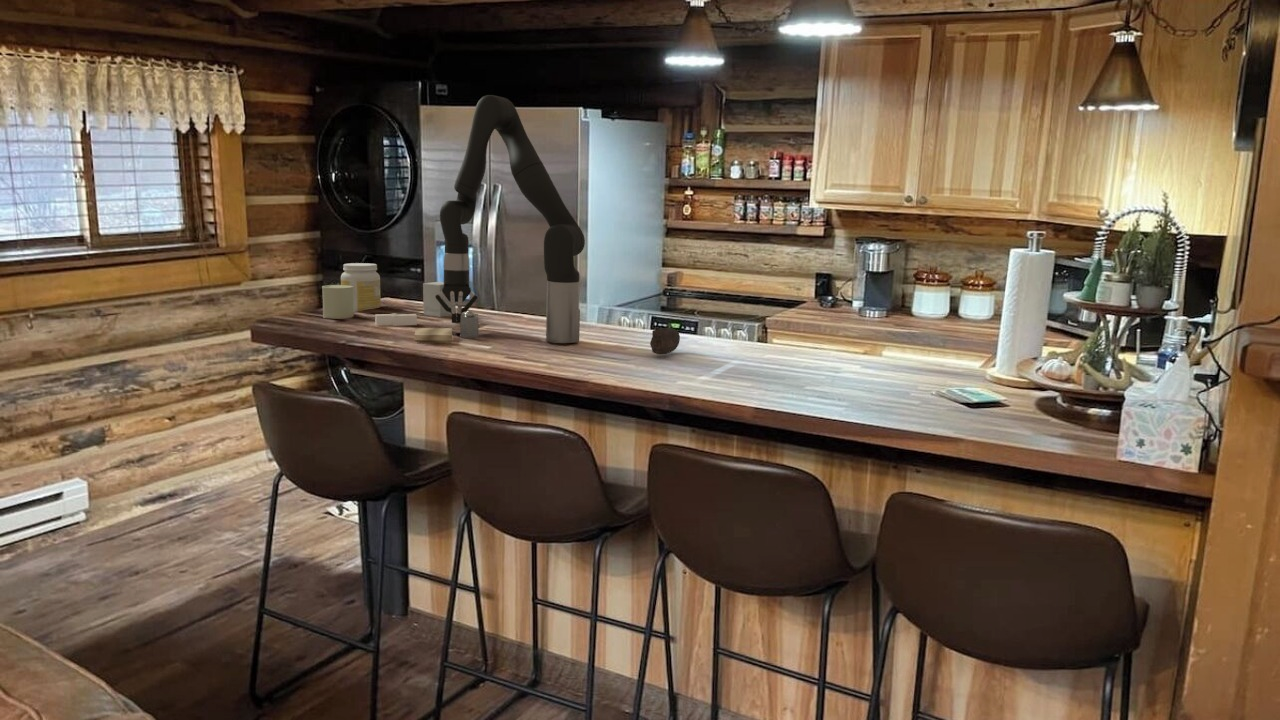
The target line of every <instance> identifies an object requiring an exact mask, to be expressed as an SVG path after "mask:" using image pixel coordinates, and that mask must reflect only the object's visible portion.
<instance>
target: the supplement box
mask: <svg viewBox="0 0 1280 720" xmlns="http://www.w3.org/2000/svg"><path fill="white" fill-rule="evenodd" d="M443 286H444V281H434V282H425V283H422V291H423V292H422V294H423V295H422V296H423V299H422V302H423V304H422V307H423V315H426V316H431V317H438V318H443V317H447V316H448V317H449V316H452V314H451V313H450V312H447V311H446V310H445V309H444V308H443V307H442V305H441V304H440V303H439V302H438V300H437V299H436V297H435V296H436V295H437V294H439V293H440V292H442V288H443ZM443 296H444V299H443V300H444V301H445V303H446V304H447V305H448V307H450V308H451V302H450V301H449V300H448V299H447V298H446V296H445V295H444V294H443ZM456 304H457V303H456V302H455V308H457V307H456Z"/></svg>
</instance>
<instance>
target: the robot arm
mask: <svg viewBox="0 0 1280 720" xmlns="http://www.w3.org/2000/svg"><path fill="white" fill-rule="evenodd" d="M473 112H474V113H473V117H472V123H471V128H470V133H469V137H468V142H467V146H466V150H465V154H464V158H463V160H462V163H461V166H460V168H459V171H458V174H457V177H456V180H455V182H454V187H453V188H454V190H455V191H456V193H457V196H456V197H457V198H456V200H447V201H445V202H444V203H442V205H441V207H440V210H439V221H440V225H441V226H440V227H441V229H442V234H443V237H444V256H443V266H442V267H443V282H444V286H443V288H442V292H440V293H439V294H437V295H436V296H435V297H436V299H437V300H438V302H439V303H440V304H441V305H442V307H443V308H444V309H445V310H446V311H447V312H450V313H451V314H452V315H451V323H452V324H459V323H460V324H461V313H466V312H467V311H469V309H470V308H471V307H472V306H473V304H474V303H475V302H476V301H477V299H478V295H477V294H475V293H474V292H472V289H471V287H470V256H469V248H470V247H469V242H470V241H469V240H470V239H469V237H468V234H466V233H464V232H463V229H462V225H466V224H468V223H469V222H471V220H472V218H473V217H474V215H475V212H476V211H475V210H476V206H477V200H478V199H477V197H478V196H477V195H478V192H479V190H480V188H481V187H480V186H481V185H482V182H483V180H484V176H485V173H486V167H487V149H488V144H489V141H490V138H491V136H492V135H493V132H494V130H495V131H497V133H498V135H499V136H500V137H501V139H502V142H503V143H504V144H505V147H506V149H507V151H508V158H509V159H508V160H509V167H510V171H511V172H510V173H511V174H512V177H513V179H514V182H516V185H517V187H518V188H519V190H520V191H521V194H522V195H523V196H524V197H525V198H526V200H527V202H528V203H530V204H531V205H532V206H533V207H534V208H535V209H536V210H537V211H538V212H539V213H540V214H541V215H542V216H543V218H544V219H545V221H546V222H547V224H548V226H549V228H548V229H547V230H546V231H545V234H544V239H543V265H544V271H545V274H546V309H545V310H546V311H545V312H546V314H545V315H546V317H545V320H546V324H545V340H546V341H547V342H548V343H555V344H556V343H557V344H572V343H580V329H581V328H580V322H581V309H580V277H581V276H580V272H579V270H577V269H576V267H575V264H574V262H575V261H574V257H575V256H578V255H580V254H581V253H582V252H583V250H584V248H585V244H586V243H585V242H586V239H585V234H584V232H583V230H582V228H581V227H580V226H579V224H578V223H577V221H576V220H575V219H574V217H573V215H572V213H570V211H569V209H568V208H567V206H566V204H565V203H564V202H563V199H562V198H561V195H560V193H559V191H558V190H557V188H556V186H555V184H554V182H553V180H552V179H551V176H550V175H549V172H548V171H547V169H546V167H545V165H544V162H543V161H542V160H541V158H540V157H539V155H538V152H537V151H536V149H535V147H534V146H533V143H532V142H531V140H530V138H529V136H528V134H527V132H526V129H525V127H524V125H523V122H522V121H521V118H520V115H519V112H518V110H517V108H516V107H515V105H514V104H513V102H512V101H511V100H509V98H507V97H503V96H498V95H495V94H487V95H484V96H482V97H481V98H480V99H479V100H478V102H477V104H476V105H475V109H474V111H473ZM443 294H444V295H445V296H446V298H447V299H448V300H449V301H450V302H451V308H450V307H448V305H447V304H446V303H445V301H444V300H443V299H444V296H443ZM467 298H468V299H469V301H468V302H467V303H466V305H464V306H463V302H464V301H465V300H467ZM455 302H457V307H456V308H457V310H456V308H455ZM462 306H463V307H462Z"/></svg>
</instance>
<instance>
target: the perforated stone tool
mask: <svg viewBox="0 0 1280 720" xmlns="http://www.w3.org/2000/svg"><path fill="white" fill-rule="evenodd" d="M651 332H652V334H651V339H650V341H649V342H650V343H649V344H650V348H651V351H652V353H653V354H656V355H667V354H670V353H672V352H674V351H675V350H677V349H678V347H679V345H680V340H681V336H680V333H679V331H678V330H677V329H675V328H671V327H665V328H660V329H659V328H658V329H654V330H652V331H651Z"/></svg>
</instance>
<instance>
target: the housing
mask: <svg viewBox="0 0 1280 720" xmlns="http://www.w3.org/2000/svg"><path fill="white" fill-rule="evenodd" d="M460 339H479V313H475V312H473V310H467V312H463V313H461V323H460Z"/></svg>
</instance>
